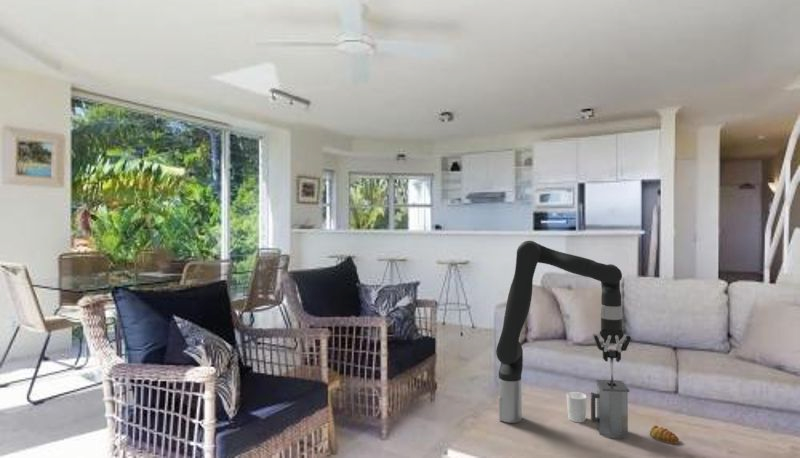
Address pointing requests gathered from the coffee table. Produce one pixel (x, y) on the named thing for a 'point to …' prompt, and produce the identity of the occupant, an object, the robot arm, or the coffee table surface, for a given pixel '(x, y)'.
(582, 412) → the white cup
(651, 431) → the pastry
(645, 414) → the coffee table surface
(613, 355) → the plunger
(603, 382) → the square french press
